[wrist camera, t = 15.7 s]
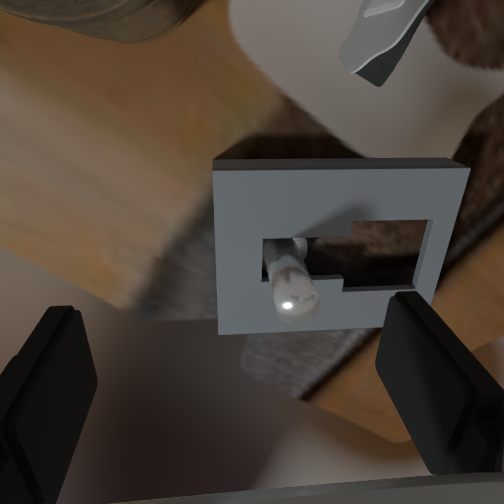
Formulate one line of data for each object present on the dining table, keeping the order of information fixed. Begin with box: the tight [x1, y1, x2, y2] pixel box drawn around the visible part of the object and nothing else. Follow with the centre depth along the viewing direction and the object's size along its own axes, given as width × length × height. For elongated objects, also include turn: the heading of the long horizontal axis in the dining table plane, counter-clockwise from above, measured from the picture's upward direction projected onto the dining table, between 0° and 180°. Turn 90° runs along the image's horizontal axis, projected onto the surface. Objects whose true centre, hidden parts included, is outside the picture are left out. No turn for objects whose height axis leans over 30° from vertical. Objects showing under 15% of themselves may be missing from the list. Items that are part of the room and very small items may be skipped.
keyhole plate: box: [213, 158, 471, 335], centre depth 43 cm, size 20×26×4 cm
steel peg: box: [262, 238, 321, 325], centre depth 38 cm, size 6×6×13 cm
